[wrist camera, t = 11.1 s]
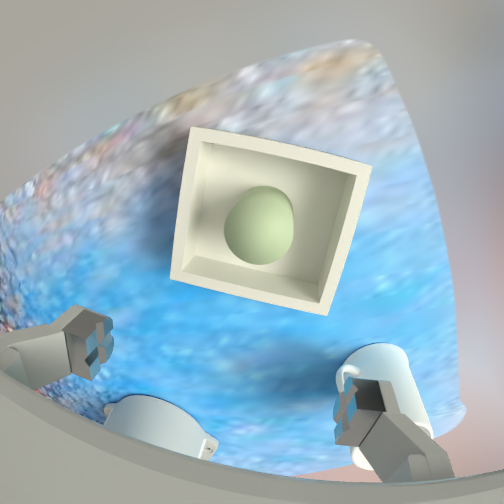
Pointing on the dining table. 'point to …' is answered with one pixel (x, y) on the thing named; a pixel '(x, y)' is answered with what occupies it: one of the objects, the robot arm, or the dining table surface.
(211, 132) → the bin
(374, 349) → the mug
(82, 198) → the dining table surface
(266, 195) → the pale green rounded piece
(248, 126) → the dining table surface
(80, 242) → the dining table surface
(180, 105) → the dining table surface
